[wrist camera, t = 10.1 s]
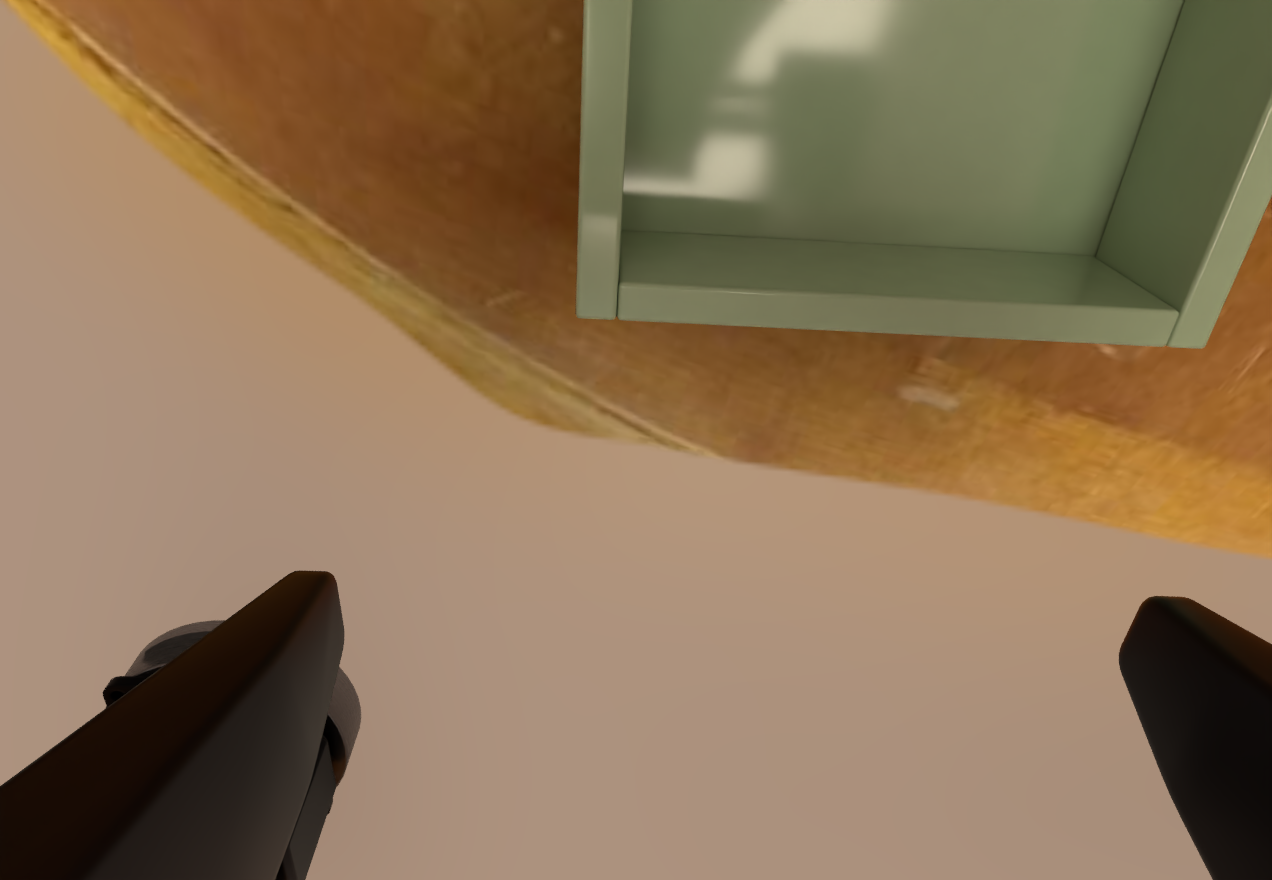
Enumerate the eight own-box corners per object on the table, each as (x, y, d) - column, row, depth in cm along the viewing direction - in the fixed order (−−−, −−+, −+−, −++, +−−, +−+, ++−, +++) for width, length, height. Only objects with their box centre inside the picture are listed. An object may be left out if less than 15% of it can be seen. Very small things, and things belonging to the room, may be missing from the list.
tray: (581, 255, 19) (574, 319, 16) (597, -278, 15) (591, -347, 11) (1106, 283, 20) (1205, 351, 17) (1289, -221, 15) (1481, -269, 12)
